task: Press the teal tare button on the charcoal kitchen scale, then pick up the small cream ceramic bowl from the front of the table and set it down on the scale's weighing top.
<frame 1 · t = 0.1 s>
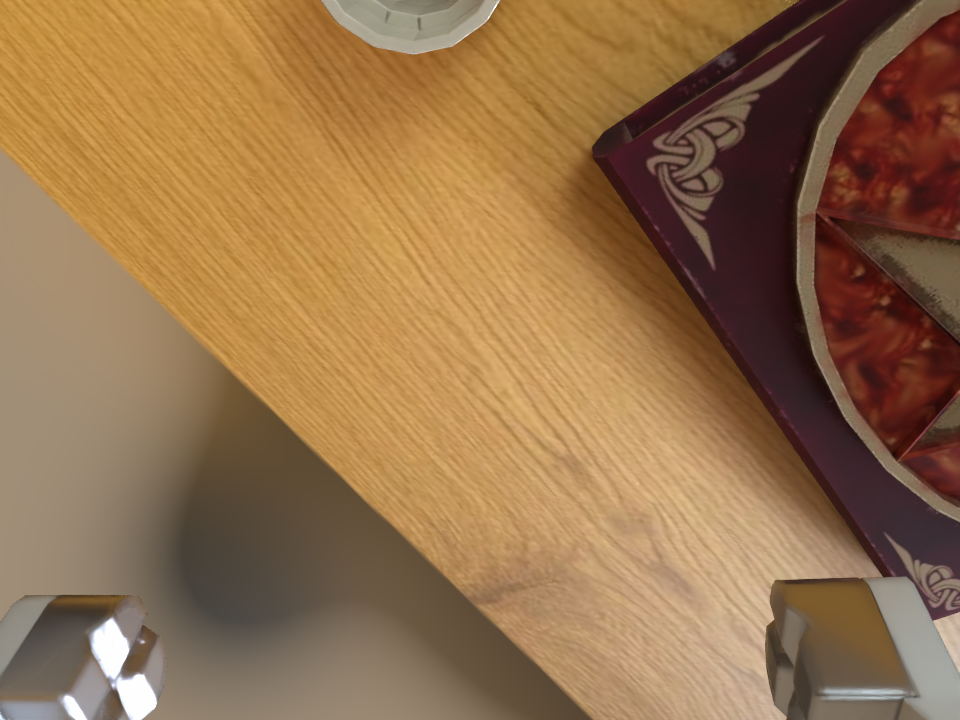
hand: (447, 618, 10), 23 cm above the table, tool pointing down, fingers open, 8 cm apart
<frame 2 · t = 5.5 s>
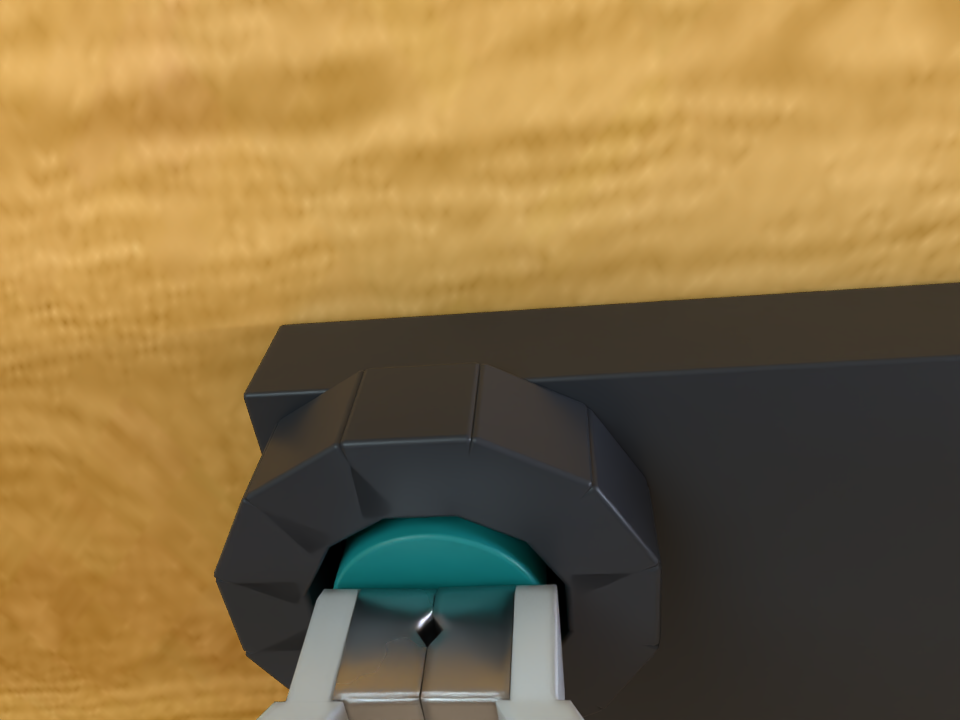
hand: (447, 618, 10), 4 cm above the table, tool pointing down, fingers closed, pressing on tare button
scale: (728, 584, 15), on the table
tare button: (443, 575, 11), point 3 cm above the table, slide at -0.8 cm, touching gripper
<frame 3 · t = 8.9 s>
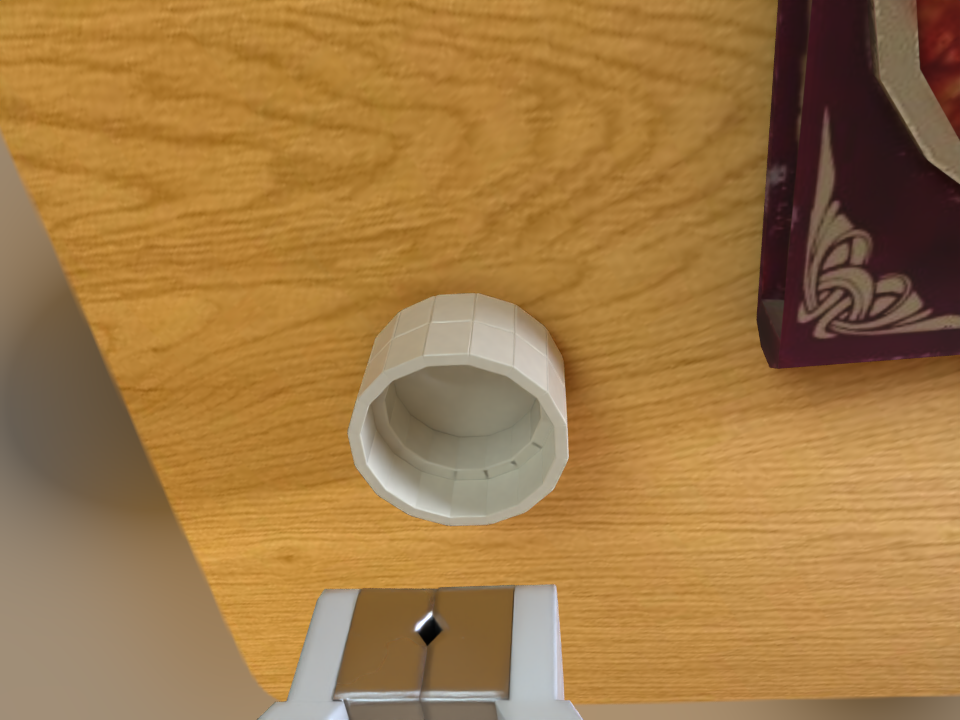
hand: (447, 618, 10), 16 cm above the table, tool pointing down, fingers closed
bowl: (467, 370, 27), on the table
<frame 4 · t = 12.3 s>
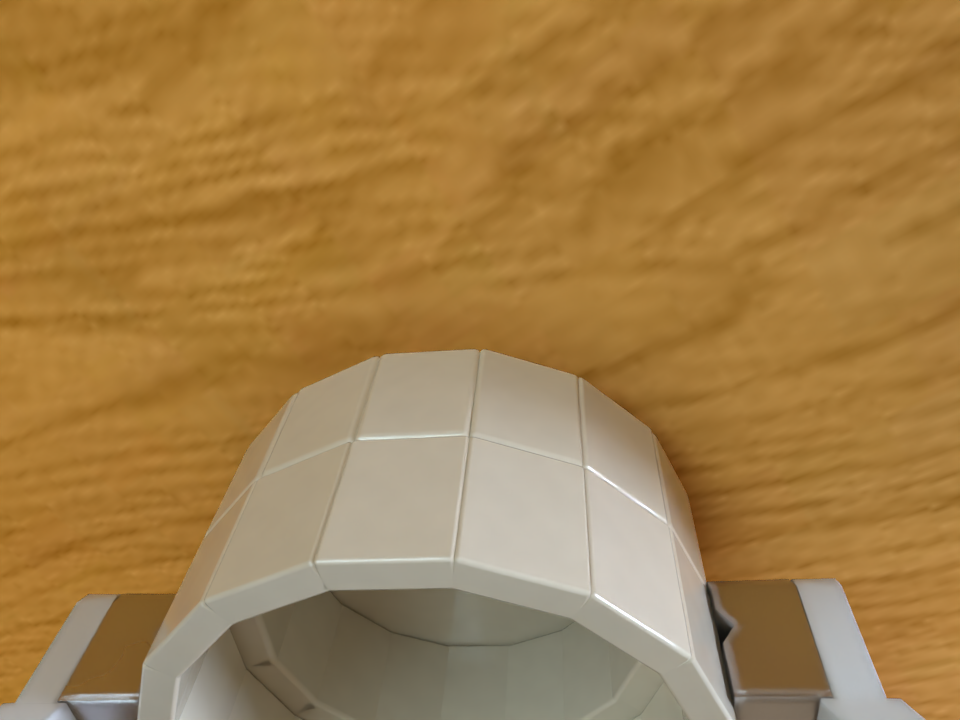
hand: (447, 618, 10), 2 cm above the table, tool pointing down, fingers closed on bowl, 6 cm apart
bowl: (464, 512, 12), on the table, touching gripper
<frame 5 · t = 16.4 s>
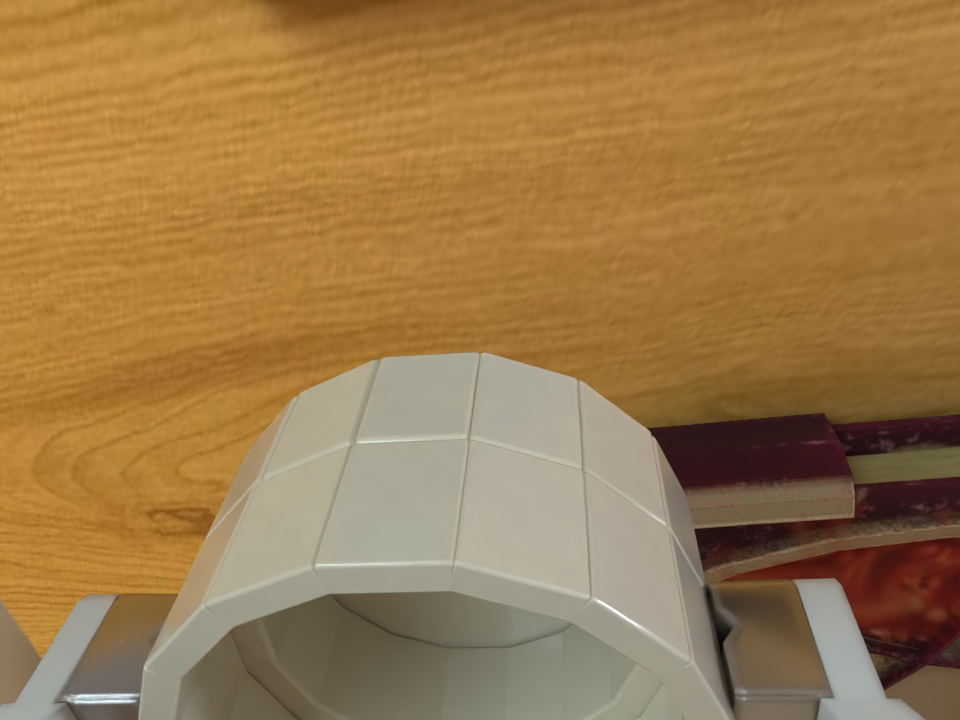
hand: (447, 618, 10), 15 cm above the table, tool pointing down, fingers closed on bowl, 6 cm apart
bowl: (464, 514, 12), point 13 cm above the table, touching gripper
book: (879, 610, 32), on the table
when the fingers open (4 cm above the table, at t = 20.6 s): bowl stays where it is, resting on scale.
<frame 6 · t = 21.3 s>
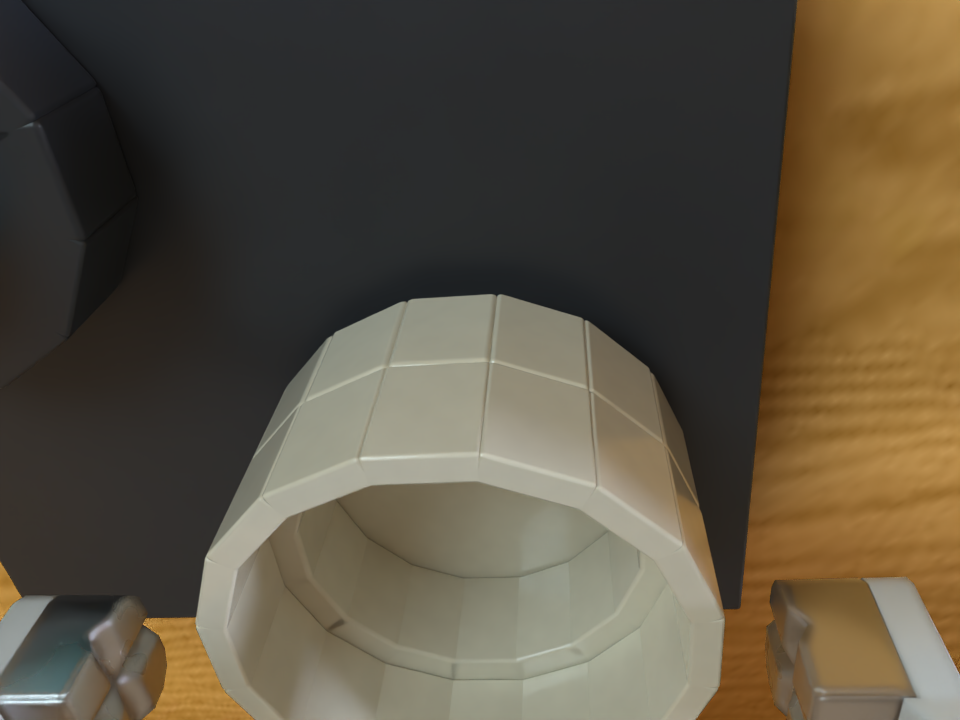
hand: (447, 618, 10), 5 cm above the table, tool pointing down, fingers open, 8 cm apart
bowl: (479, 451, 13), point 2 cm above the table, touching scale
scale: (327, 296, 14), on the table
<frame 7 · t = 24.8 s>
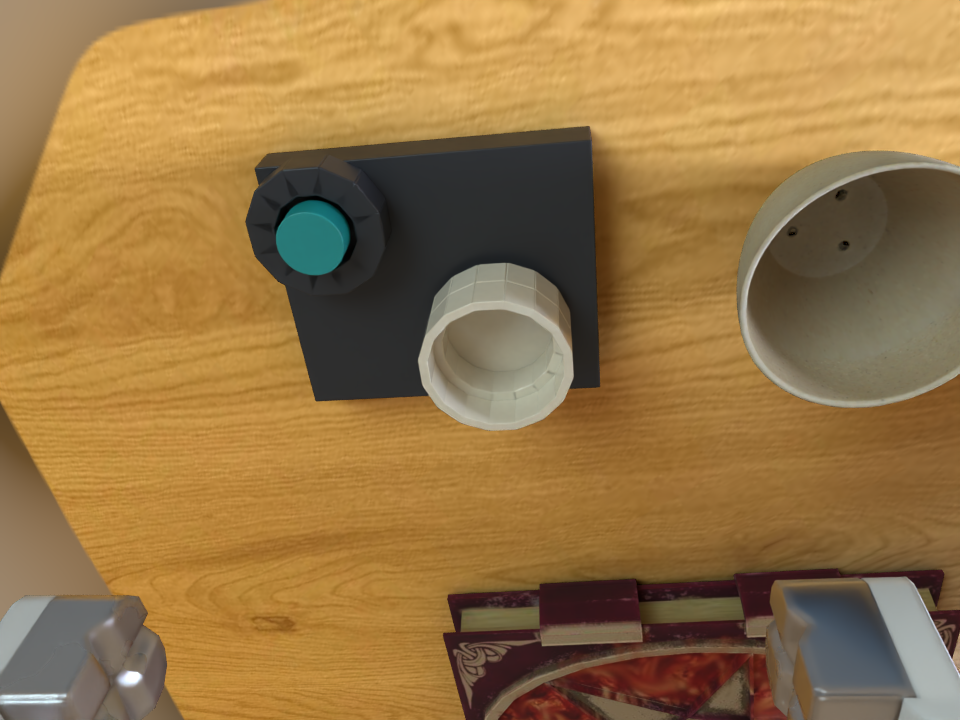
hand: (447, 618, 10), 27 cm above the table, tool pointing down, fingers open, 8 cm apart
bowl: (500, 321, 37), point 2 cm above the table, touching scale
scale: (442, 266, 38), on the table
tare button: (313, 237, 33), point 4 cm above the table, slide at 0.1 cm
book: (686, 680, 53), on the table
flower pot: (823, 217, 36), on the table
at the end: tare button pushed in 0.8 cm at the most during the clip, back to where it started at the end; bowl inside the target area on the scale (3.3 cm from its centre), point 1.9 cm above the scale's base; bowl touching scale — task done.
